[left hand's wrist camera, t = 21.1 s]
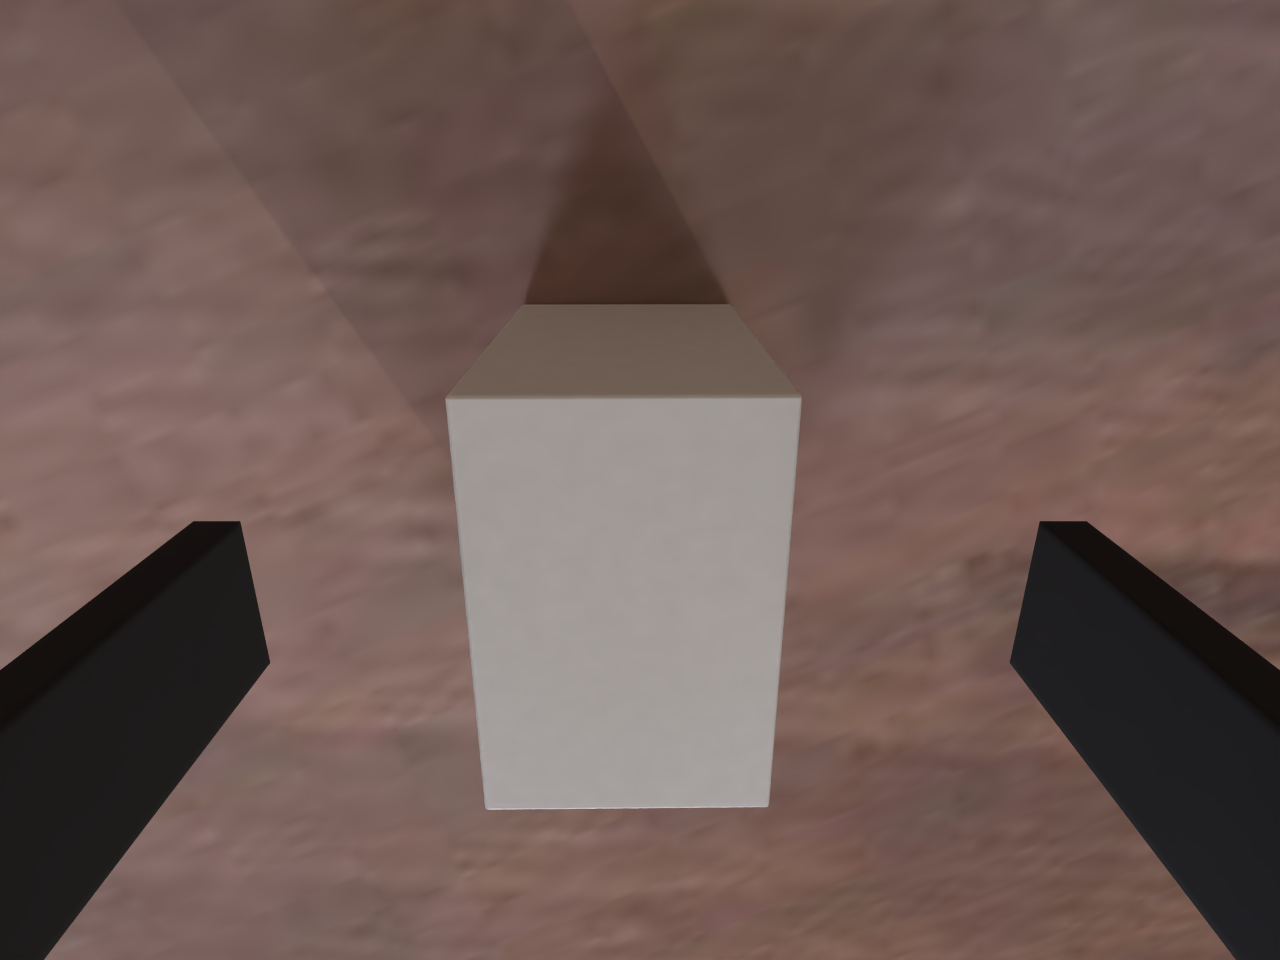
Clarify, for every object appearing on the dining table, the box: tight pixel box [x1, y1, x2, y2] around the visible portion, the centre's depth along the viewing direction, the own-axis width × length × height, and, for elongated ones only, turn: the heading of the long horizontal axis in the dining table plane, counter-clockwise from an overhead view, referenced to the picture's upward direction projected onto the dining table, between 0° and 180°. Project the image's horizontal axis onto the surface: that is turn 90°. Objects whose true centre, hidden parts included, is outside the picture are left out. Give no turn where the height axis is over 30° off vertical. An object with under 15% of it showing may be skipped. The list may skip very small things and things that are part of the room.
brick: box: [446, 304, 802, 809], centre depth 16 cm, size 5×8×8 cm, turn 0°
